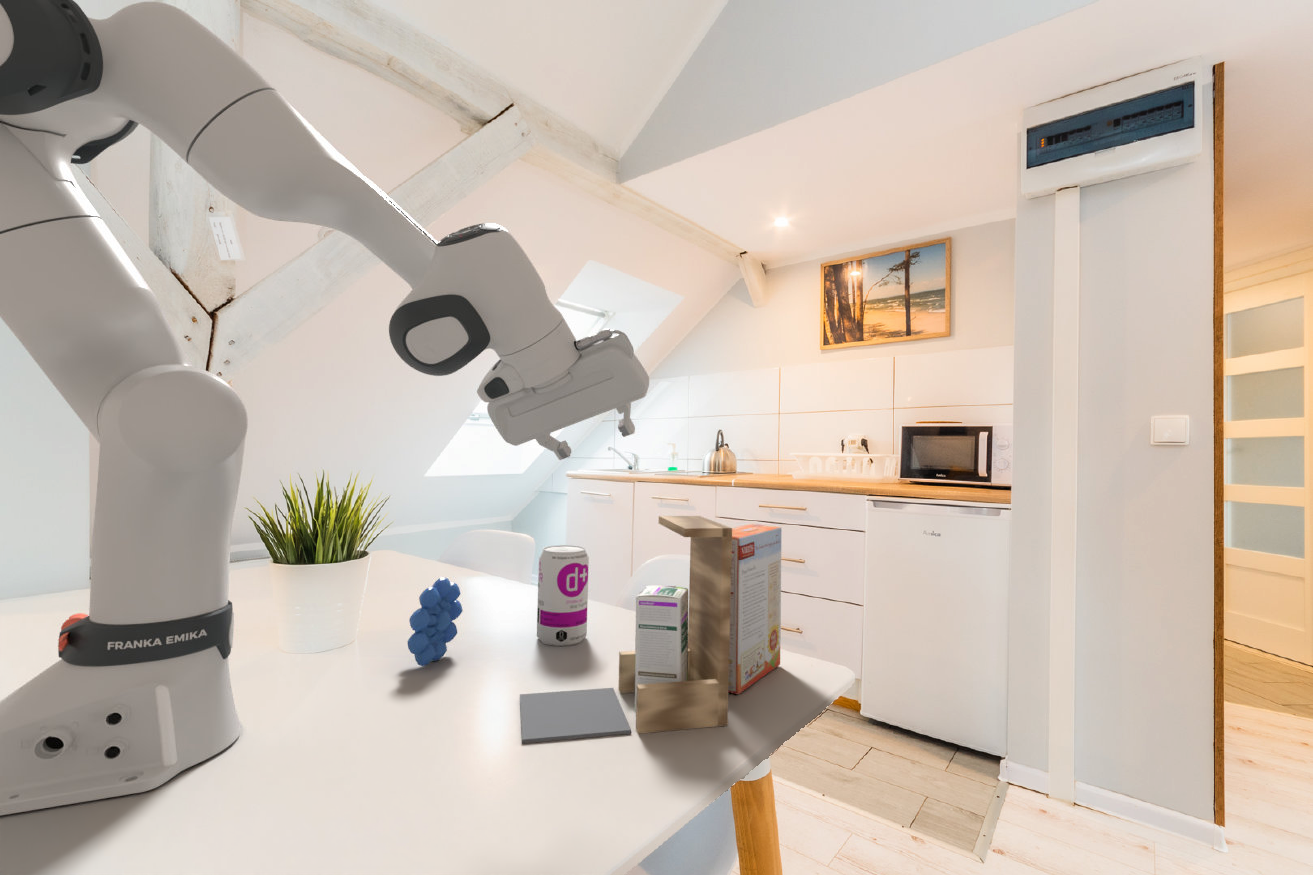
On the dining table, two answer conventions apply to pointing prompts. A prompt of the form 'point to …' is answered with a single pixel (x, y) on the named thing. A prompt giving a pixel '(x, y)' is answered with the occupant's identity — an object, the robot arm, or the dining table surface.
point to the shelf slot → (693, 639)
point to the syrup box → (661, 635)
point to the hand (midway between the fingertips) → (597, 444)
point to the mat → (571, 715)
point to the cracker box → (754, 604)
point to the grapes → (434, 621)
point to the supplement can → (562, 595)
